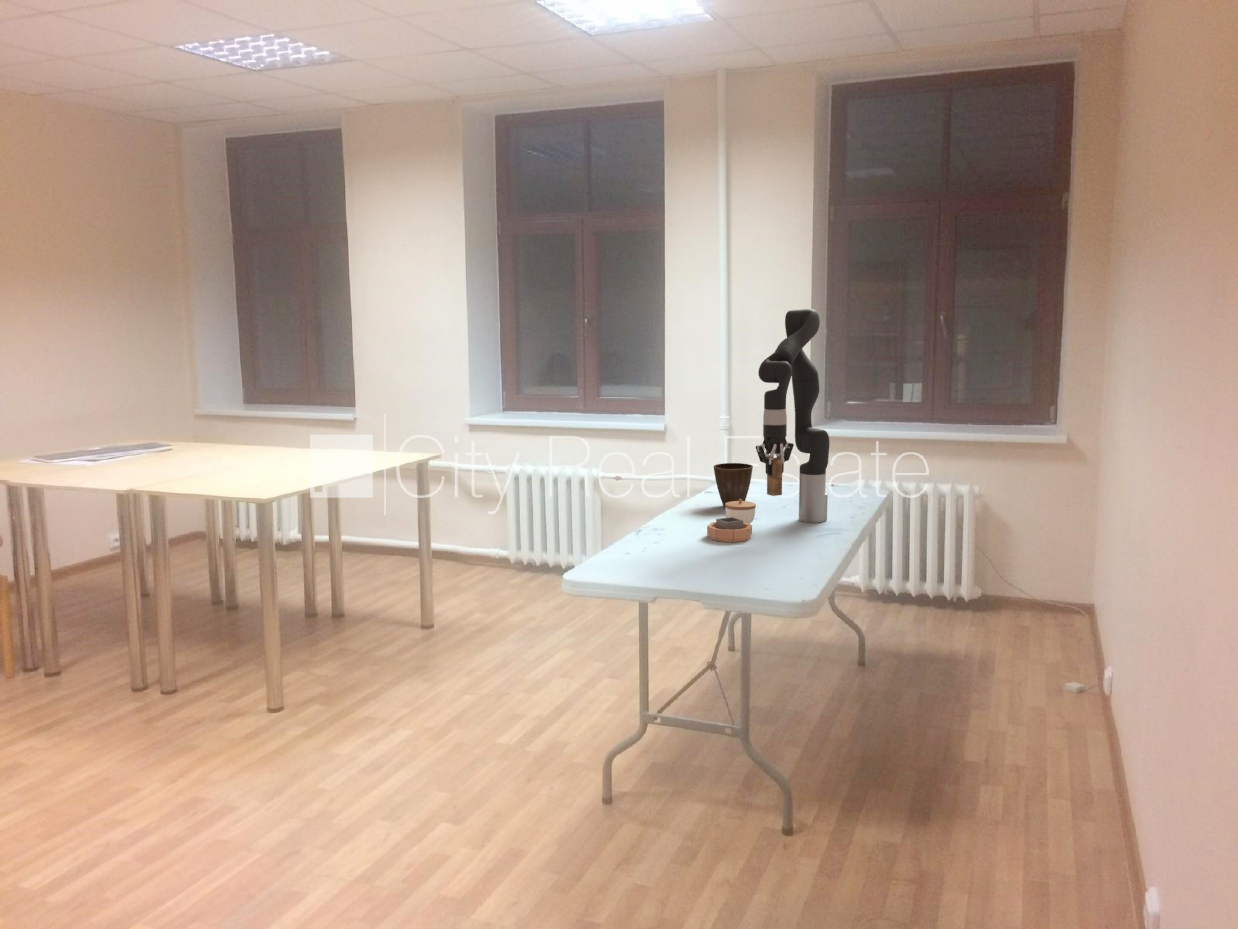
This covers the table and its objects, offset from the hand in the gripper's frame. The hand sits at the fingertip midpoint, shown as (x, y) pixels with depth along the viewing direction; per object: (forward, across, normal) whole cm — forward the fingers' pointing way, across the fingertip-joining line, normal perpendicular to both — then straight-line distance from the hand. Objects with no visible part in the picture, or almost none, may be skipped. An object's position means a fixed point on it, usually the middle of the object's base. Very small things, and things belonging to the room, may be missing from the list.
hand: (774, 474), depth 318 cm
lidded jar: (+22, -1, -22) cm, 31 cm away
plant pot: (+22, -16, -51) cm, 58 cm away
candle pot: (+21, +12, -8) cm, 26 cm away
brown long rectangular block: (+7, 0, 0) cm, 7 cm away
